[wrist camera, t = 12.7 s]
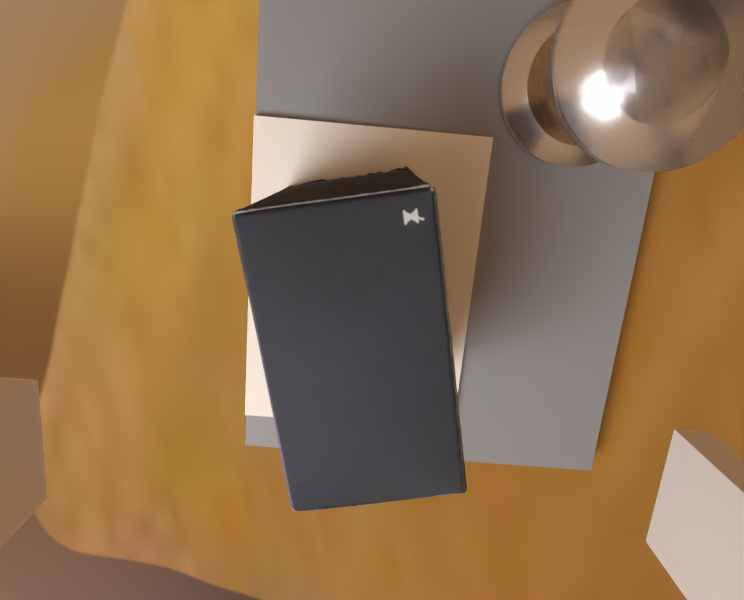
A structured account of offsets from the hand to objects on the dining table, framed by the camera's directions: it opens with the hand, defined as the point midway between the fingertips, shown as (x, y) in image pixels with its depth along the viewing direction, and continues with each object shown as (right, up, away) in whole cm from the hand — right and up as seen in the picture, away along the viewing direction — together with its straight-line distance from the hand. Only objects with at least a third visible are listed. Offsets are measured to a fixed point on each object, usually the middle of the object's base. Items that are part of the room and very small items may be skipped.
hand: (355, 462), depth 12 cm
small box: (0, +4, +16) cm, 16 cm away
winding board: (+4, +7, +17) cm, 19 cm away
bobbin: (+10, +13, +14) cm, 21 cm away
